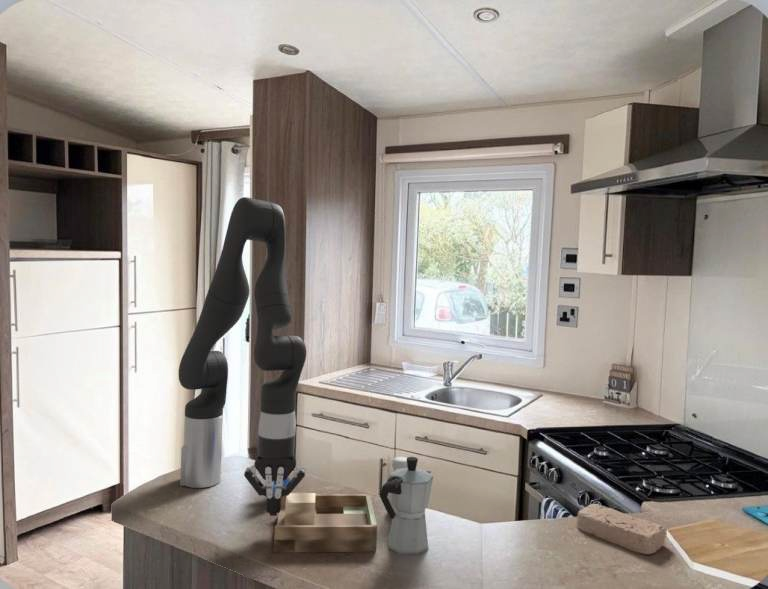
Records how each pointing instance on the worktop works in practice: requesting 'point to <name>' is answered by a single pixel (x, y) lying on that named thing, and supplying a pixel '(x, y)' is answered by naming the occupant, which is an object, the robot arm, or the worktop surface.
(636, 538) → the brick
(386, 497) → the coffee maker
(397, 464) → the salt shaker
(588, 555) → the worktop surface
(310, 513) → the birch block
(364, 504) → the box
